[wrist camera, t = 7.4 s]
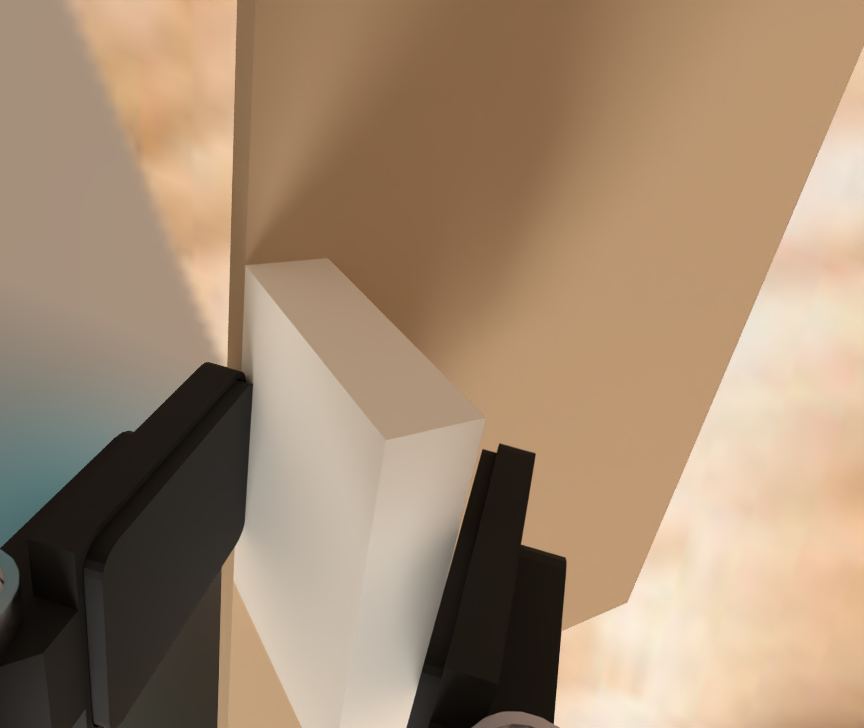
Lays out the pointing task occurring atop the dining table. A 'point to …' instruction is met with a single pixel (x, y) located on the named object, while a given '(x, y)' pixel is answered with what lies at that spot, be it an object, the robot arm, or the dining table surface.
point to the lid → (486, 297)
